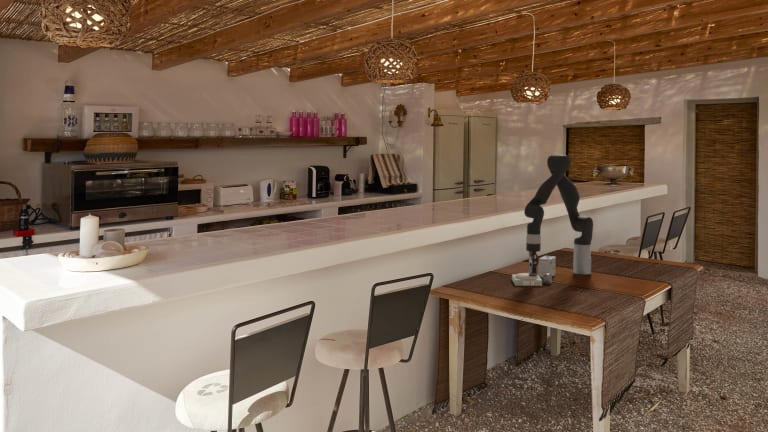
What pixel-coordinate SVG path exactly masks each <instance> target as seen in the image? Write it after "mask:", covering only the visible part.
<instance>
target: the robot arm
mask: <svg viewBox="0 0 768 432" xmlns="http://www.w3.org/2000/svg"><path fill="white" fill-rule="evenodd" d="M546 161H547V162H546V163H547V168H548V170H549V172H550V174H551V175H550V176H549V177H548V178H547V179H546V180H545V181H544V182H542V184H541V185H540V186H539V188H538V189H537V191H536V192H535V195H534V196H533V198H531V200H530V201H529V202H528V203H527V204H526V206H525V207H524V216H525V217H526V218H529V219H532V222H529V223H527V225H526V237H525V241H526V243H525V245H526V246H525V249H526V251H527V252H528V263H529V266H532V273H533V274H536V267H537V268H538V266H539V258H538V257H539V256H538V253H540V252H541V248H542V245H541V244H542V240H541V239H542V236H541V230H542V229H541V226H542V222H543V219H544V216H545V210H544V208H543V206H544V205H546V204H547V202H548V200H549V198H550V196H551V194H552V192H553V191H554V189H555V188H556V186H557V189H558V191H559V194H560V197H561V199H562V201H563V203H564V206H565V209H566V212H567V215H568V218H569V223H570V227H571V228H572V230H573V231H575V232H577V233H578V232H579V233H581V234H580V236H579V237H576V238H574V240H573V265H572V266H573V268H572V269H573V270H572V273H573V274H575V275H584V276H586V275H592V256H591V247H592V239H593V230H594V221H593V218H592V217H590V216H585V215H581V214H580V213H579V211H578V205H579V203H580V193H579V191H578V188H577V186H576V185H575V184H574V183H573V181H572V180H570V179H569V178H568V177H567V176H566V173H568V172H567V171H568V170H569V169H570V167H571V158H570V157H569V156H568V155H566V154H551V155H549V156H548V158H547V160H546ZM537 252H538V253H537Z"/></svg>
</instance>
